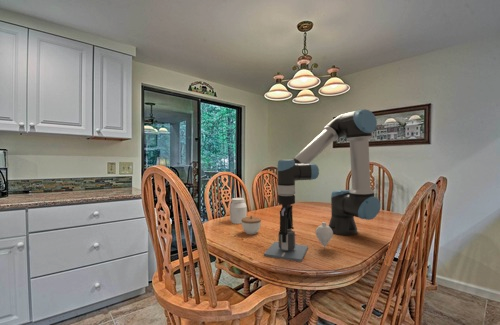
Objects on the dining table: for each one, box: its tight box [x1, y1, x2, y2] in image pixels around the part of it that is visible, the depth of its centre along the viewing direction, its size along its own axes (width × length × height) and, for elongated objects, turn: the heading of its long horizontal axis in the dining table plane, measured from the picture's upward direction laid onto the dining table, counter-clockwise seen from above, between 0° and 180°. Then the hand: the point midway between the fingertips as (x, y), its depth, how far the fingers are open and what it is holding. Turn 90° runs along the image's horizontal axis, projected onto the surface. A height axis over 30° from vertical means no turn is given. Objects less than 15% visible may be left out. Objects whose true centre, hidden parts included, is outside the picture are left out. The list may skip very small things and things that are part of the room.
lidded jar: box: [241, 215, 262, 235], centre depth 135 cm, size 11×11×9 cm
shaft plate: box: [263, 241, 309, 263], centre depth 107 cm, size 16×16×6 cm
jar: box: [229, 197, 248, 225], centre depth 159 cm, size 12×10×15 cm
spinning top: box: [315, 221, 334, 249], centre depth 111 cm, size 8×8×12 cm
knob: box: [277, 230, 296, 250], centre depth 107 cm, size 7×7×7 cm
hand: (286, 246), depth 107 cm, fingers closed on knob, 7 cm apart
